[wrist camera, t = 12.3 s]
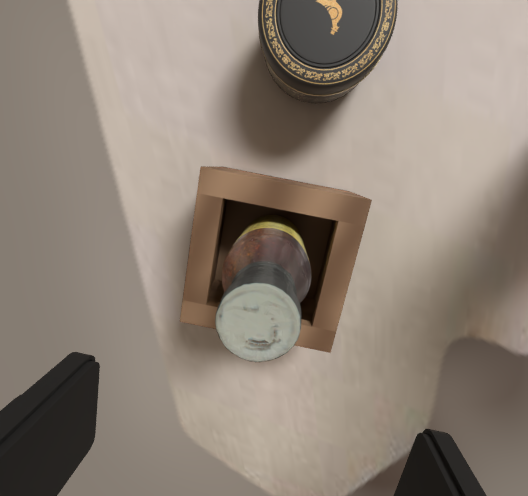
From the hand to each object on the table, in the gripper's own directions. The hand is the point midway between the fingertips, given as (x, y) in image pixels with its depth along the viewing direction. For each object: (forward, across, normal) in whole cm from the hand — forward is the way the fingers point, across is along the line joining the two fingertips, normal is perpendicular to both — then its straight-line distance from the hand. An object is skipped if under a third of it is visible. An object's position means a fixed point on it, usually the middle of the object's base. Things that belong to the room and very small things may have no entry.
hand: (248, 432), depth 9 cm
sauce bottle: (+26, +1, 0) cm, 26 cm away
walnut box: (+26, +1, 0) cm, 26 cm away
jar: (+26, 0, -18) cm, 32 cm away
